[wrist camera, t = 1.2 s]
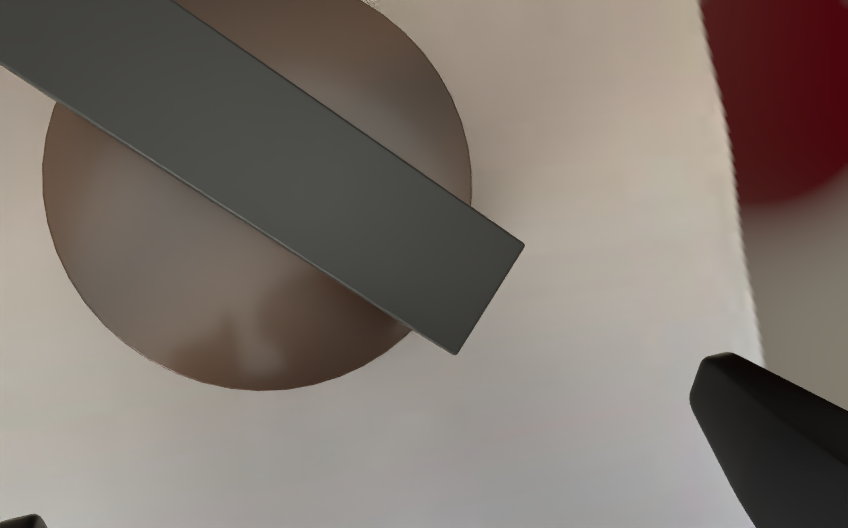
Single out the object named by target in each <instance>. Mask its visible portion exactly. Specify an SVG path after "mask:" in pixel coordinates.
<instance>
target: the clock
mask: <svg viewBox="0 0 848 528" xmlns="http://www.w3.org/2000/svg"><path fill="white" fill-rule="evenodd" d="M0 65H1V66H3V67H4V68H6V69H8V70H9V71H11V72H12V73H14V74H15V75H17V76H18V77H20V78H21V79H23V80H24V81H26V82H27V83H29V84H30V85H32V86H33V87H35V88H36V89H38V90H39V91H41V92H42V93H44V94H45V95H47V96H48V97H50V98H52V99H53V100H55V101H56V102H58V103H59V104H61V105H62V106H64V107H65V108H67V109H68V110H70V111H71V112H73V113H74V114H76V115H78V116H79V117H81V118H82V119H84V120H85V121H87V122H88V123H90V124H92V125H93V126H95V127H96V128H98V129H99V130H101V131H102V132H104V133H106V134H107V135H109V136H110V137H112V138H113V139H115V140H117V141H118V142H120V143H121V144H123V145H124V146H126V147H127V148H129V149H131V150H132V151H134V152H135V153H137V154H138V155H140V156H141V157H143V158H145V159H146V160H148V161H149V162H151V163H152V164H154V165H155V166H157V167H159V168H160V169H162V170H163V171H165V172H166V173H168V174H169V175H171V176H173V177H174V178H176V179H177V180H179V181H180V182H182V183H184V184H185V185H187V186H188V187H190V188H191V189H193V190H194V191H196V192H198V193H199V194H201V195H202V196H204V197H205V198H207V199H208V200H210V201H212V202H213V203H215V204H216V205H218V206H219V207H221V208H222V209H224V210H226V211H227V212H229V213H230V214H232V215H233V216H235V217H236V218H238V219H240V220H241V221H243V222H244V223H246V224H247V225H249V226H251V227H252V228H254V229H255V230H257V231H258V232H260V233H261V234H263V235H265V236H266V237H268V238H269V239H271V240H272V241H274V242H275V243H277V244H279V245H280V246H282V247H283V248H285V249H286V250H288V251H289V252H291V253H293V254H294V255H296V256H297V257H299V258H300V259H302V260H303V261H305V262H307V263H308V264H310V265H311V266H313V267H314V268H316V269H318V270H319V271H321V272H322V273H324V274H325V275H327V276H328V277H330V278H332V279H333V280H335V281H336V282H338V283H339V284H341V285H342V286H344V287H346V288H347V289H349V290H350V291H352V292H353V293H355V294H356V295H358V296H360V297H361V298H363V299H364V300H366V301H367V302H369V303H370V304H372V305H374V306H375V307H377V308H378V309H380V310H381V311H383V312H385V313H386V314H388V315H389V316H391V317H392V318H394V319H395V320H397V321H399V322H400V323H402V324H403V325H405V326H407V327H408V328H410V329H412V330H413V331H415V332H416V333H418V334H420V335H421V336H423V337H425V338H426V339H428V340H430V341H431V342H433V343H434V344H436V345H438V346H439V347H441V348H443V349H444V350H446V351H448V352H449V353H451V354H453V355H457V354H458V352H459V351H460V349H461V348H462V346H463V344H464V343H465V341H466V340H467V338H468V336H469V335H470V333H471V332H472V330H473V328H474V327H475V325H476V324H477V322H478V320H479V319H480V317H481V316H482V314H483V312H484V311H485V309H486V308H487V306H488V304H489V303H490V301H491V300H492V298H493V296H494V295H495V293H496V292H497V290H498V288H499V287H500V285H501V284H502V282H503V280H504V279H505V277H506V276H507V274H508V272H509V271H510V269H511V268H512V266H513V264H514V263H515V261H516V260H517V258H518V256H519V255H520V253H521V252H522V250H523V248H524V246H525V245H524V243H523V242H521V241H520V240H518V239H517V238H516V237H514V236H513V235H511V234H510V233H508V232H507V231H505V230H504V229H503V228H501V227H500V226H498V225H497V224H495V223H494V222H492V221H491V220H490V219H488V218H487V217H485V216H484V215H482V214H481V213H480V212H478V211H477V210H475V209H474V208H472V207H471V206H469V205H468V204H467V203H465V202H464V201H462V200H461V199H459V198H458V197H456V196H455V195H454V194H452V193H451V192H449V191H448V190H446V189H445V188H444V187H442V186H441V185H439V184H438V183H436V182H435V181H433V180H432V179H431V178H429V177H428V176H426V175H425V174H423V173H422V172H420V171H419V170H418V169H416V168H415V167H413V166H412V165H410V164H409V163H407V162H406V161H405V160H403V159H402V158H400V157H399V156H397V155H396V154H395V153H393V152H392V151H390V150H389V149H387V148H386V147H384V146H383V145H382V144H380V143H379V142H377V141H376V140H374V139H373V138H371V137H370V136H369V135H367V134H366V133H364V132H363V131H361V130H360V129H358V128H357V127H356V126H354V125H353V124H351V123H350V122H348V121H347V120H346V119H344V118H343V117H341V116H340V115H338V114H337V113H335V112H334V111H333V110H331V109H330V108H328V107H327V106H325V105H324V104H322V103H321V102H320V101H318V100H317V99H315V98H314V97H312V96H311V95H310V94H308V93H307V92H305V91H304V90H302V89H301V88H299V87H298V86H297V85H295V84H294V83H292V82H291V81H289V80H288V79H286V78H285V77H284V76H282V75H281V74H279V73H278V72H276V71H275V70H273V69H272V68H271V67H269V66H268V65H266V64H265V63H263V62H262V61H261V60H259V59H258V58H256V57H255V56H253V55H252V54H250V53H249V52H248V51H246V50H245V49H243V48H242V47H240V46H239V45H237V44H236V43H235V42H233V41H232V40H230V39H229V38H227V37H226V36H224V35H223V34H222V33H220V32H219V31H217V30H216V29H214V28H213V27H212V26H210V25H209V24H207V23H206V22H204V21H203V20H201V19H200V18H199V17H197V16H196V15H194V14H193V13H191V12H190V11H188V10H187V9H186V8H184V7H183V6H181V5H180V4H178V3H177V2H176V1H174V0H0Z"/></svg>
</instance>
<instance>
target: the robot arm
mask: <svg viewBox="0 0 848 528" xmlns="http://www.w3.org/2000/svg"><path fill="white" fill-rule="evenodd" d="M689 399H690V405H691V408H692V411H693V413H694V415H695V417H696V419H697V421H698V423H699V425H700V427H701V429H702V430H703V432H704V434H705V436H706V438H707V440H708V442H709V444H710V446H711V448H712V450H713V452H714V454H715V456H716V458H717V460H718V462H719V464H720V465H721V467H722V469H723V471H724V473H725V475H726V477H727V479H728V481H729V483H730V485H731V487H732V489H733V490H734V492H735V494H736V496H737V498H738V499H739V501H740V503H741V504H742V506H743V508H744V509H745V511H746V513H747V514H748V516H749V517H750V519H751V521H752V522H753V524H754V525H755V527H756V528H848V411H847V410H845V409H843V408H841V407H839V406H837V405H835V404H833V403H831V402H829V401H827V400H825V399H823V398H821V397H819V396H817V395H815V394H813V393H811V392H809V391H807V390H805V389H803V388H802V387H799V386H797V385H795V384H794V383H792V382H790V381H788V380H786V379H783V378H782V377H780V376H778V375H776V374H774V373H772V372H770V371H768V370H766V369H764V368H762V367H760V366H758V365H756V364H754V363H752V362H750V361H749V360H747V359H745V358H743V357H741V356H739V355H737V354H734V353H730V352H725V353H720V354H716V355H711V356H708V357H705V358H704V359H703V360H702V361H701V363H700V366H699V369H698V371H697V374H696V377H695V380H694V383H693V386H692V388H691V391H690V398H689ZM0 528H47V526H46V524H45V522H44V521H43V519H42V518H41V517H40V516H38V515H36V514H30V515H26V516H21V517H17V518H13V519H9V520H5V521H2V522H0Z"/></svg>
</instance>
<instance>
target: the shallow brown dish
mask: <svg viewBox="0 0 848 528" xmlns="http://www.w3.org/2000/svg"><path fill="white" fill-rule="evenodd" d="M174 1H176V2H177V3H178V4H180V5H181V6H183V7H184V8H186V9H187V10H188V11H190V12H191V13H193V14H194V15H196V16H197V17H199V18H200V19H201V20H203V21H204V22H206V23H207V24H209V25H210V26H212V27H213V28H214V29H216V30H217V31H219V32H220V33H222V34H223V35H224V36H226V37H227V38H229V39H230V40H232V41H233V42H235V43H236V44H237V45H239V46H240V47H242V48H243V49H245V50H246V51H248V52H249V53H250V54H252V55H253V56H255V57H256V58H258V59H259V60H261V61H262V62H263V63H265V64H266V65H268V66H269V67H271V68H272V69H273V70H275V71H276V72H278V73H279V74H281V75H282V76H284V77H285V78H286V79H288V80H289V81H291V82H292V83H294V84H295V85H297V86H298V87H299V88H301V89H302V90H304V91H305V92H307V93H308V94H310V95H311V96H312V97H314V98H315V99H317V100H318V101H320V102H321V103H322V104H324V105H325V106H327V107H328V108H330V109H331V110H333V111H334V112H335V113H337V114H338V115H340V116H341V117H343V118H344V119H346V120H347V121H348V122H350V123H351V124H353V125H354V126H356V127H357V128H358V129H360V130H361V131H363V132H364V133H366V134H367V135H369V136H370V137H371V138H373V139H374V140H376V141H377V142H379V143H380V144H382V145H383V146H384V147H386V148H387V149H389V150H390V151H392V152H393V153H395V154H396V155H397V156H399V157H400V158H402V159H403V160H405V161H406V162H407V163H409V164H410V165H412V166H413V167H415V168H416V169H418V170H419V171H420V172H422V173H423V174H425V175H426V176H428V177H429V178H431V179H432V180H433V181H435V182H436V183H438V184H439V185H441V186H442V187H444V188H445V189H446V190H448V191H449V192H451V193H452V194H454V195H455V196H456V197H458V198H459V199H461V200H462V201H464V202H465V203H467V204H468V205H469V206H471V198H472V187H471V165H470V158H469V150H468V145H467V141H466V137H465V133H464V130H463V126H462V122H461V119H460V117H459V114H458V112H457V109H456V107H455V104H454V102H453V99H452V97H451V95H450V93H449V91H448V90H447V88H446V86H445V84H444V82H443V81H442V79H441V77H440V75H439V73H438V72H437V71H436V69H435V68H434V67H433V65H432V64H431V62H430V61H429V60H428V58H427V57H426V56H425V54H424V53H423V52H422V51H421V49H420V48H419V47H418V46H417V45H416V44H415V43H414V42H413V41H412V40H411V39H410V38H409V37H408V36H407V35H406V33H405V32H403V31H402V30H401V29H400V28H399V27H397V26H396V25H395V24H394V23H393V22H391V21H390V20H389V19H388V18H387V17H385V16H384V15H383V14H381V13H380V12H378V11H377V10H375V9H374V8H372V7H370V6H369V5H367V4H366V3H364V2H363V1H361V0H174ZM42 176H43V199H44V205H45V211H46V217H47V223H48V226H49V230H50V233H51V236H52V239H53V243H54V246H55V249H56V252H57V254H58V256H59V258H60V260H61V263H62V265H63V267H64V269H65V271H66V273H67V275H68V277H69V279H70V281H71V282H72V284H73V285H74V287H75V288H76V290H77V291H78V293H79V294H80V296H81V298H82V299H83V301H84V302H85V303H86V305H87V306H88V307H89V308H90V309H91V310H92V312H93V313H94V314H95V315H96V316H97V317H98V318H99V320H100V321H101V322H102V323H103V324H104V325H105V326H106V327H107V328H108V329H109V330H110V331H112V332H113V333H114V334H115V335H116V336H117V337H118V338H119V339H121V340H122V341H123V342H124V343H125V344H126V345H128V346H129V347H131V348H132V349H134V350H135V351H137V352H138V353H140V354H141V355H143V356H144V357H146V358H147V359H149V360H150V361H152V362H154V363H156V364H158V365H160V366H162V367H164V368H166V369H168V370H170V371H172V372H174V373H176V374H179V375H182V376H185V377H188V378H191V379H193V380H196V381H199V382H202V383H206V384H211V385H216V386H220V387H225V388H230V389H241V390H254V391H267V390H287V389H293V388H298V387H304V386H310V385H315V384H318V383H321V382H324V381H327V380H331V379H334V378H337V377H340V376H342V375H345V374H347V373H349V372H351V371H353V370H355V369H358V368H360V367H362V366H364V365H366V364H367V363H369V362H371V361H372V360H374V359H375V358H377V357H379V356H380V355H382V354H383V353H385V352H387V351H388V350H389V349H390V348H392V347H393V346H394V345H395V344H397V343H398V342H399V341H400V340H401V339H403V338H404V337H405V336H406V335H407V334H408V333H409V332H410V331H411V330H412V329H410V328H408V327H407V326H405V325H403V324H402V323H400V322H399V321H397V320H395V319H394V318H392V317H391V316H389V315H388V314H386V313H385V312H383V311H381V310H380V309H378V308H377V307H375V306H374V305H372V304H370V303H369V302H367V301H366V300H364V299H363V298H361V297H360V296H358V295H356V294H355V293H353V292H352V291H350V290H349V289H347V288H346V287H344V286H342V285H341V284H339V283H338V282H336V281H335V280H333V279H332V278H330V277H328V276H327V275H325V274H324V273H322V272H321V271H319V270H318V269H316V268H314V267H313V266H311V265H310V264H308V263H307V262H305V261H303V260H302V259H300V258H299V257H297V256H296V255H294V254H293V253H291V252H289V251H288V250H286V249H285V248H283V247H282V246H280V245H279V244H277V243H275V242H274V241H272V240H271V239H269V238H268V237H266V236H265V235H263V234H261V233H260V232H258V231H257V230H255V229H254V228H252V227H251V226H249V225H247V224H246V223H244V222H243V221H241V220H240V219H238V218H236V217H235V216H233V215H232V214H230V213H229V212H227V211H226V210H224V209H222V208H221V207H219V206H218V205H216V204H215V203H213V202H212V201H210V200H208V199H207V198H205V197H204V196H202V195H201V194H199V193H198V192H196V191H194V190H193V189H191V188H190V187H188V186H187V185H185V184H184V183H182V182H180V181H179V180H177V179H176V178H174V177H173V176H171V175H169V174H168V173H166V172H165V171H163V170H162V169H160V168H159V167H157V166H155V165H154V164H152V163H151V162H149V161H148V160H146V159H145V158H143V157H141V156H140V155H138V154H137V153H135V152H134V151H132V150H131V149H129V148H127V147H126V146H124V145H123V144H121V143H120V142H118V141H117V140H115V139H113V138H112V137H110V136H109V135H107V134H106V133H104V132H102V131H101V130H99V129H98V128H96V127H95V126H93V125H92V124H90V123H88V122H87V121H85V120H84V119H82V118H81V117H79V116H78V115H76V114H74V113H73V112H71V111H70V110H68V109H67V108H65V107H64V106H62V105H61V104H59V103H58V102H56V104H55V106H54V109H53V112H52V116H51V120H50V123H49V127H48V131H47V134H46V140H45V148H44V156H43V164H42Z"/></svg>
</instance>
